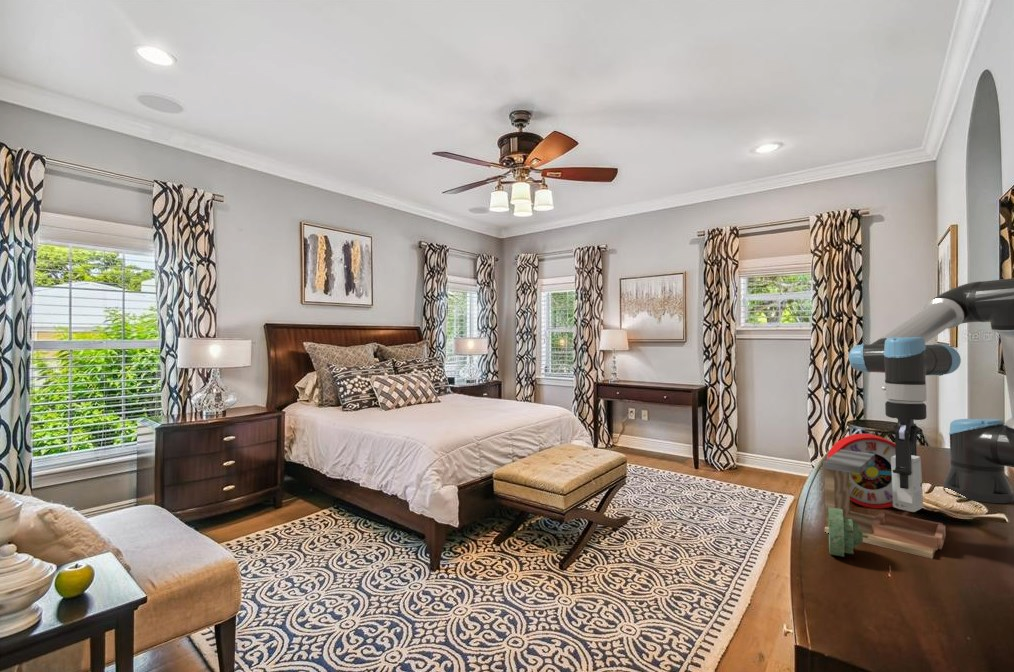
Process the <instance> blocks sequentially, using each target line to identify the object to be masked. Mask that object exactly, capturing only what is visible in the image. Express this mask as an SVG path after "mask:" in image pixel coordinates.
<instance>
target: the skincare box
mask: <svg viewBox="0 0 1014 672" xmlns="http://www.w3.org/2000/svg"><path fill="white" fill-rule="evenodd" d="M921 459H922V457H921V456H919V455H917V456H914V455H911V472H912V474H911V475H912V486H913V503H907V502H901V501H897V473H893V470H895V468H896V455H895V456H893V457H891V470H892V496H893V506H892V507H893V508H895V509H898V510H902V511H905V512H911V513H916V512H917V511H920V510H921V509H923V507H924V499H923V498H924V496H923V495H924V494H923V476H922V475H923V474H922V460H921ZM901 468H903V467H901Z"/></svg>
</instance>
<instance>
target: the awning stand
mask: <svg viewBox="0 0 1014 672" xmlns="http://www.w3.org/2000/svg"><path fill="white" fill-rule="evenodd" d="M874 461H875V454H870V453H862V452H855V451H847V450H839V451H838V452H837V453H835V454H834V455H832V456H831V457H829V458H828V459H827V458H826V459H825V460H824V461H822V469H824V470H823V472H824V473H823V474H824V507H825V509H824V510H825V511H824V512H825V514H824V516H825V522H824V523H825V526H824V533H825V532H826V533H825V534H828V533H829V525H828V507H831V508H837V509H842V510H843V518H849V519H852V520H853V523H857V525H858V530H862V532H863V535H866V536H868V538H864V537H863V543H866V544H868V545H869V544H870V545H874V546H878V547H882V548H886V549H890V550H894V551H898V552H902V553H906V554H911V555H915V556H919V557H923V558H928V559H931V560H933V559H934V556H935V553H936V551H938V549H939V550H942V548H943V546H944V542H945V539H946V537H947V536H946V533H947V532H946V525H945V524H943V523H942V522H937V521H932V520H927V519H922V518H917V517H913V516H912V517H911V516H906V515H902V514H896V513H892V512H887V511H882V512H880V511H879V512H878V514H877V515H870V514H865V513H860V512H856V511H851V507H850V502H851V500H850V493H849V472H850V473H857V474H861V473H862V472H863V471H864V470H865V469H866V468H867V467H868V466H869V465H870V464H871V463H872V462H874Z"/></svg>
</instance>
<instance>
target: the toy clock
mask: <svg viewBox="0 0 1014 672" xmlns="http://www.w3.org/2000/svg"><path fill="white" fill-rule="evenodd" d="M839 450H847V451H855V452H862V453H870V454H875V461H874V462H872V463H871V464H870V465H869V466H868V467H867V468H866V469H865V470H864V471H863V472H862V473H861V474H857V473H850V472H849V493H850V502H853V503H855V504H856V505H859V506H863V507H865V508H871V509H886V508H891V507H893V496H892V470H891V457H893V456H895V455H896V454H895V443H894V442H893V441H891V440H888V439H887V438H884V437H882V436H880V435H876V434H872V433H871V434H870V433H855V434H850V435H848V436H844V437H843V438H841V439H839V440H838V441H837V442H835V443H834V444H833V446H832V447H831V448H830V449H829V451H828V453H827V457H826V459H828V458H829V457H831V456H832V455H834V454H835V453H837V452H838V451H839Z"/></svg>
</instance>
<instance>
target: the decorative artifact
mask: <svg viewBox="0 0 1014 672" xmlns="http://www.w3.org/2000/svg"><path fill="white" fill-rule="evenodd" d="M828 525H829V534H828V550H829V555H831V556H837V557H842V558H843V557H844V558H845V554H849V555H854V548H859V544H860V543H861V544H863V543H864V542H863V537H864V538H868V536H866V535H863V532H862V530H858V525H857V523H853V520H852V519H849V518H843V510H842V509H837V508H831V507H828Z"/></svg>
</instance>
